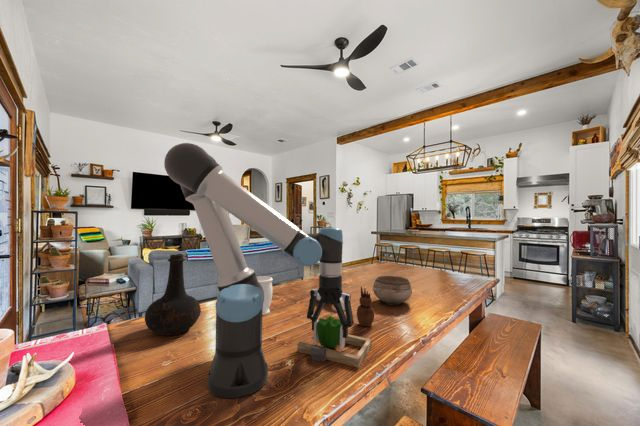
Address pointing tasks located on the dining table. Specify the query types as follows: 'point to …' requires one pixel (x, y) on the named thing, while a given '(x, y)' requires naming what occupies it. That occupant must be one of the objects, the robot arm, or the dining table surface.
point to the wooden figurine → (365, 309)
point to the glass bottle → (173, 304)
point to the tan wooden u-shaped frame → (340, 357)
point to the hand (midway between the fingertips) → (329, 343)
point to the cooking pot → (392, 289)
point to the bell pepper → (329, 331)
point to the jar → (266, 292)
